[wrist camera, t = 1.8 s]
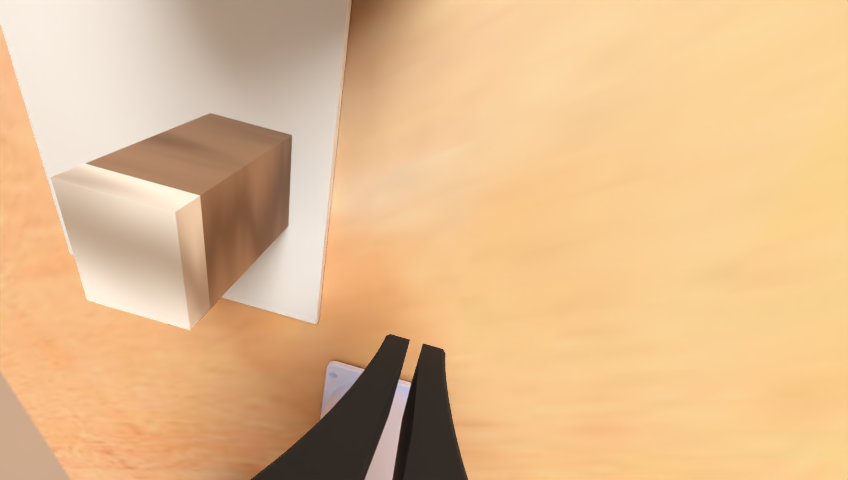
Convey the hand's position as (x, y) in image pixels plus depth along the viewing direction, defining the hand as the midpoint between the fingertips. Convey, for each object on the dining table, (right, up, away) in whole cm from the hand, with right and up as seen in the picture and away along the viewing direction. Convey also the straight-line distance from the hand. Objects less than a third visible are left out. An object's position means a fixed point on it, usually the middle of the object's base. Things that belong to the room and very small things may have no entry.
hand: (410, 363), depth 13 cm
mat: (-12, +8, +8) cm, 17 cm away
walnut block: (-8, +7, +8) cm, 13 cm away
